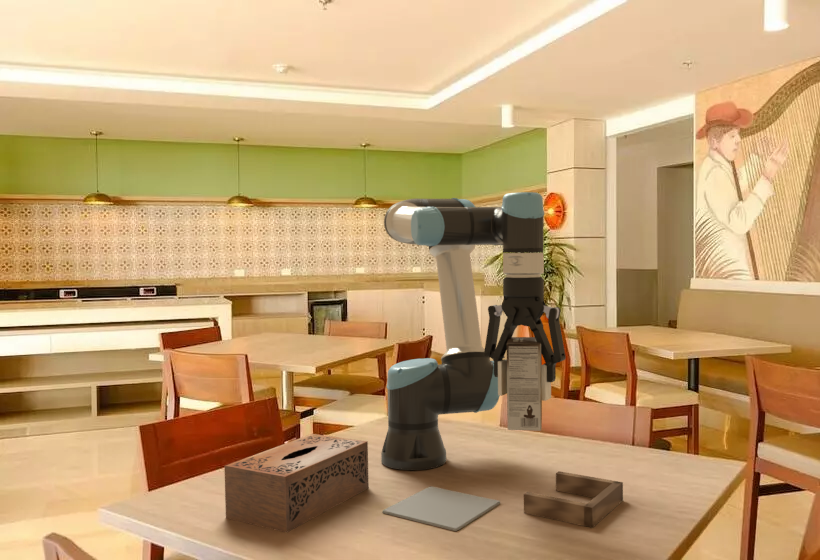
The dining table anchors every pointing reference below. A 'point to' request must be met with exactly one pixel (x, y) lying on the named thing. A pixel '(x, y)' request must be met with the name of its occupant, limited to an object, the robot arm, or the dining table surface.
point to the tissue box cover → (295, 481)
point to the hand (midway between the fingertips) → (524, 396)
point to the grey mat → (442, 508)
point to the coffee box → (524, 384)
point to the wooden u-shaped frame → (575, 512)
